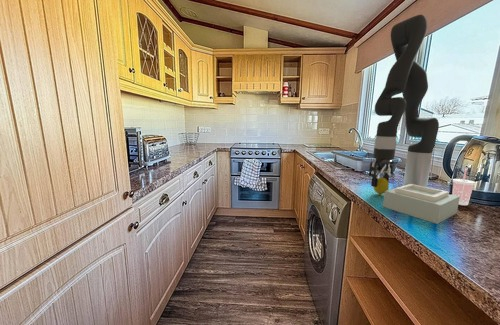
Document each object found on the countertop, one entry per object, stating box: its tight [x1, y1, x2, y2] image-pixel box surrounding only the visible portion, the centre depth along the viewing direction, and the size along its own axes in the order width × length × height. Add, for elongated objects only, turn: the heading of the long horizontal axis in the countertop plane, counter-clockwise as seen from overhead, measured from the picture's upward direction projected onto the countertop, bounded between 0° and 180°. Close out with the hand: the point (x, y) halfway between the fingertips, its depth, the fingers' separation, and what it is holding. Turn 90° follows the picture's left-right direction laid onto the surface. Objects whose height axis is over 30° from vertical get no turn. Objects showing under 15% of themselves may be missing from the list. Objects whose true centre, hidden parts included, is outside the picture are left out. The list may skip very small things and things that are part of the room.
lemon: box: [373, 176, 390, 196], centre depth 91 cm, size 6×6×8 cm
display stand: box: [382, 184, 460, 225], centre depth 75 cm, size 16×16×7 cm
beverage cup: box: [451, 167, 476, 206], centre depth 81 cm, size 6×6×14 cm
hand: (379, 185), depth 91 cm, fingers open, 8 cm apart
